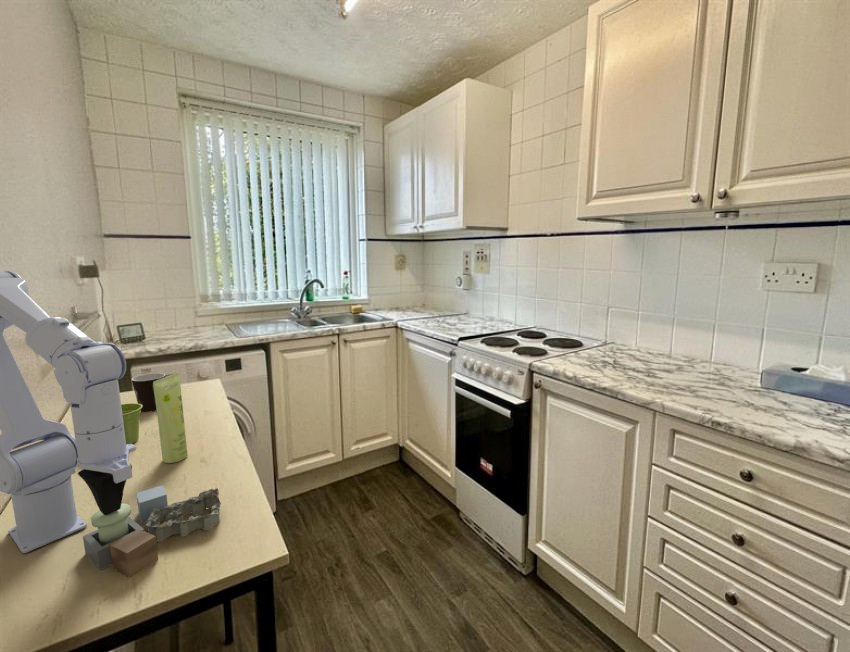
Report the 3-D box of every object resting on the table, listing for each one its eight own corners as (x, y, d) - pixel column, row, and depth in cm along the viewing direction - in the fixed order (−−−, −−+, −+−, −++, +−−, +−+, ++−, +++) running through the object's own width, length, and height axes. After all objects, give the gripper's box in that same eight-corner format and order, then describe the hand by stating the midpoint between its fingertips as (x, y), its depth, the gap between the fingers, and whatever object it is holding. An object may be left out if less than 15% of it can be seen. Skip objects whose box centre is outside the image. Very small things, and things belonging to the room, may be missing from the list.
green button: (89, 541, 62) (86, 515, 62) (126, 524, 66) (123, 500, 66) (101, 553, 60) (97, 526, 59) (138, 535, 64) (135, 510, 63)
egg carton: (222, 506, 75) (221, 486, 75) (219, 531, 68) (217, 508, 68) (155, 520, 71) (153, 498, 71) (144, 547, 64) (141, 524, 64)
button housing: (85, 553, 63) (82, 536, 62) (130, 532, 67) (128, 516, 67) (100, 570, 59) (97, 551, 59) (146, 546, 64) (144, 529, 64)
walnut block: (113, 569, 59) (110, 545, 59) (141, 552, 63) (139, 528, 62) (130, 578, 58) (126, 553, 57) (158, 560, 61) (155, 536, 61)
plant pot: (90, 448, 99) (85, 414, 97) (128, 432, 108) (124, 401, 106) (118, 453, 96) (113, 418, 95) (155, 437, 105) (151, 404, 103)
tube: (188, 460, 92) (180, 377, 89) (162, 467, 89) (152, 381, 86) (187, 451, 97) (179, 371, 94) (161, 457, 94) (152, 375, 91)
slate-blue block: (138, 513, 73) (136, 493, 72) (165, 505, 75) (162, 485, 75) (141, 524, 70) (139, 503, 69) (168, 515, 72) (166, 494, 72)
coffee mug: (141, 405, 128) (137, 374, 127) (172, 402, 131) (168, 372, 130) (126, 418, 118) (122, 385, 116) (160, 414, 120) (157, 382, 119)
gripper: (151, 428, 59) (161, 513, 61) (112, 409, 68) (122, 484, 70) (91, 446, 54) (105, 539, 56) (57, 422, 62) (69, 504, 64)
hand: (111, 510), depth 62 cm, fingers closed
